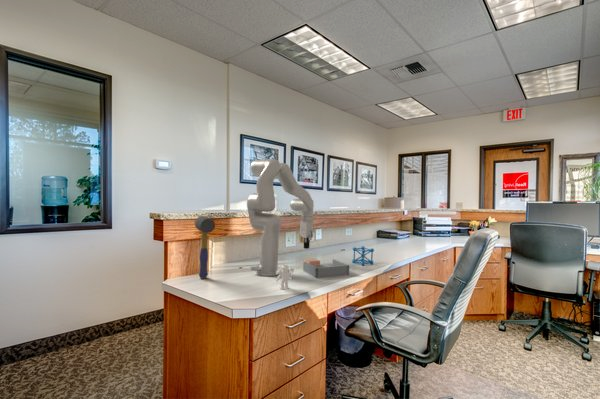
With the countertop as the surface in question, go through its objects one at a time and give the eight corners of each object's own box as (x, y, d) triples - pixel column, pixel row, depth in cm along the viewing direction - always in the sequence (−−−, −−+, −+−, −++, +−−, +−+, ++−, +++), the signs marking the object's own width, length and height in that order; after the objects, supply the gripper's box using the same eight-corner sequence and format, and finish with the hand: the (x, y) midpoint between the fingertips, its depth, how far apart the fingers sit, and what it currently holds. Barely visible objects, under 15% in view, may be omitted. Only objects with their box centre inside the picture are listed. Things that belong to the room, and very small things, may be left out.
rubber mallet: (214, 280, 146) (216, 217, 145) (198, 282, 142) (200, 217, 141) (207, 274, 156) (209, 215, 156) (192, 275, 152) (193, 215, 152)
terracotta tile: (309, 268, 177) (309, 261, 177) (304, 265, 183) (304, 258, 183) (320, 267, 179) (320, 260, 179) (315, 264, 186) (315, 258, 186)
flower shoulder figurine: (278, 291, 133) (279, 264, 133) (273, 288, 136) (274, 262, 136) (294, 287, 139) (295, 261, 139) (289, 285, 142) (290, 259, 142)
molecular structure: (362, 261, 200) (362, 245, 199) (374, 264, 192) (374, 248, 191) (351, 262, 194) (351, 247, 194) (363, 266, 186) (363, 249, 185)
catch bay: (316, 277, 156) (316, 268, 156) (303, 270, 170) (303, 261, 170) (348, 274, 165) (349, 265, 165) (333, 267, 179) (334, 259, 178)
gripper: (296, 217, 194) (295, 246, 195) (307, 220, 181) (306, 251, 181) (306, 217, 197) (306, 245, 198) (318, 220, 184) (317, 250, 185)
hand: (306, 248), depth 190 cm, fingers closed
